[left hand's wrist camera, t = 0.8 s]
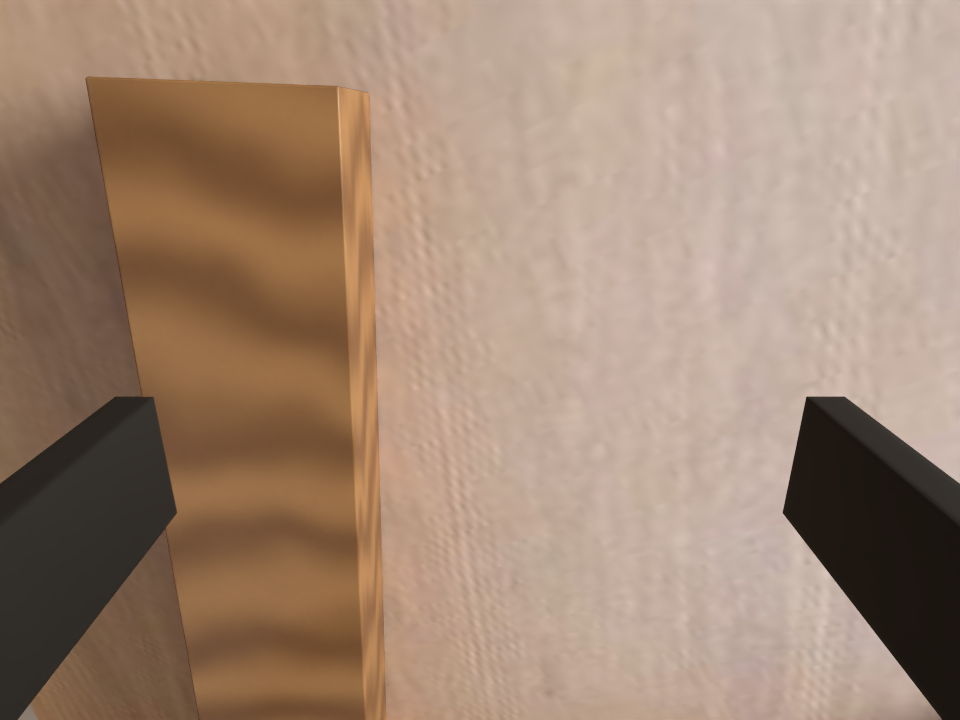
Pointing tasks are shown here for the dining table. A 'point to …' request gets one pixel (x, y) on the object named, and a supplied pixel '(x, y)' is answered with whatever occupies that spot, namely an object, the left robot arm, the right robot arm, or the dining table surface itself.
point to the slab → (258, 378)
